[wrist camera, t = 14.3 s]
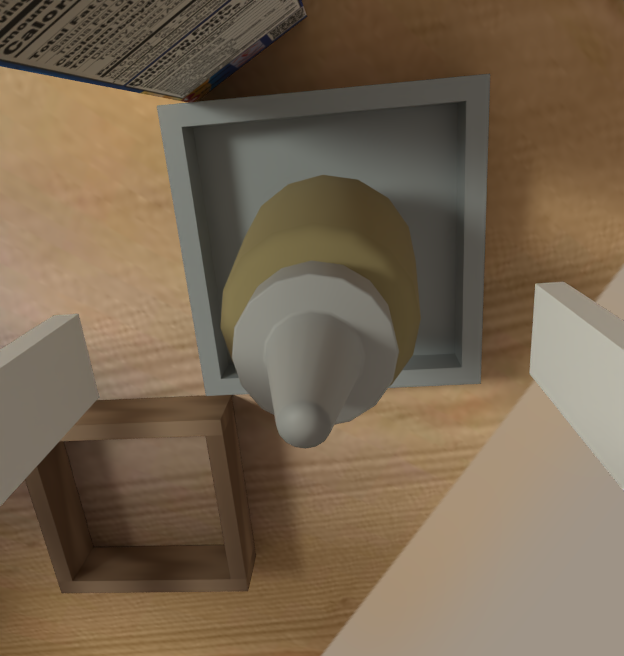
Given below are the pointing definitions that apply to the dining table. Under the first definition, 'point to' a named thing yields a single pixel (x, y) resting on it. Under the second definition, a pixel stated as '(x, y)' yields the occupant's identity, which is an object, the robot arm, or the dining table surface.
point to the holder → (148, 561)
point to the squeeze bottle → (321, 305)
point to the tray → (348, 162)
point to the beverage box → (142, 40)
